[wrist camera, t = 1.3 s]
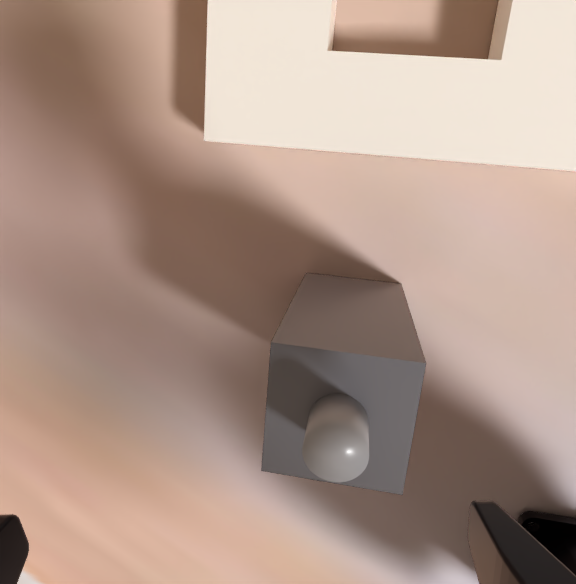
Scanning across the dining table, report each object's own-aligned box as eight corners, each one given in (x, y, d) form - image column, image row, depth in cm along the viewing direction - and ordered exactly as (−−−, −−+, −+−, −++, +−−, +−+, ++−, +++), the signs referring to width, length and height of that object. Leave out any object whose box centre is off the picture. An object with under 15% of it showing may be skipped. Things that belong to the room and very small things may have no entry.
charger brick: (401, 283, 19) (434, 391, 10) (387, 370, 20) (407, 536, 11) (306, 272, 20) (259, 366, 11) (297, 358, 21) (249, 507, 12)
